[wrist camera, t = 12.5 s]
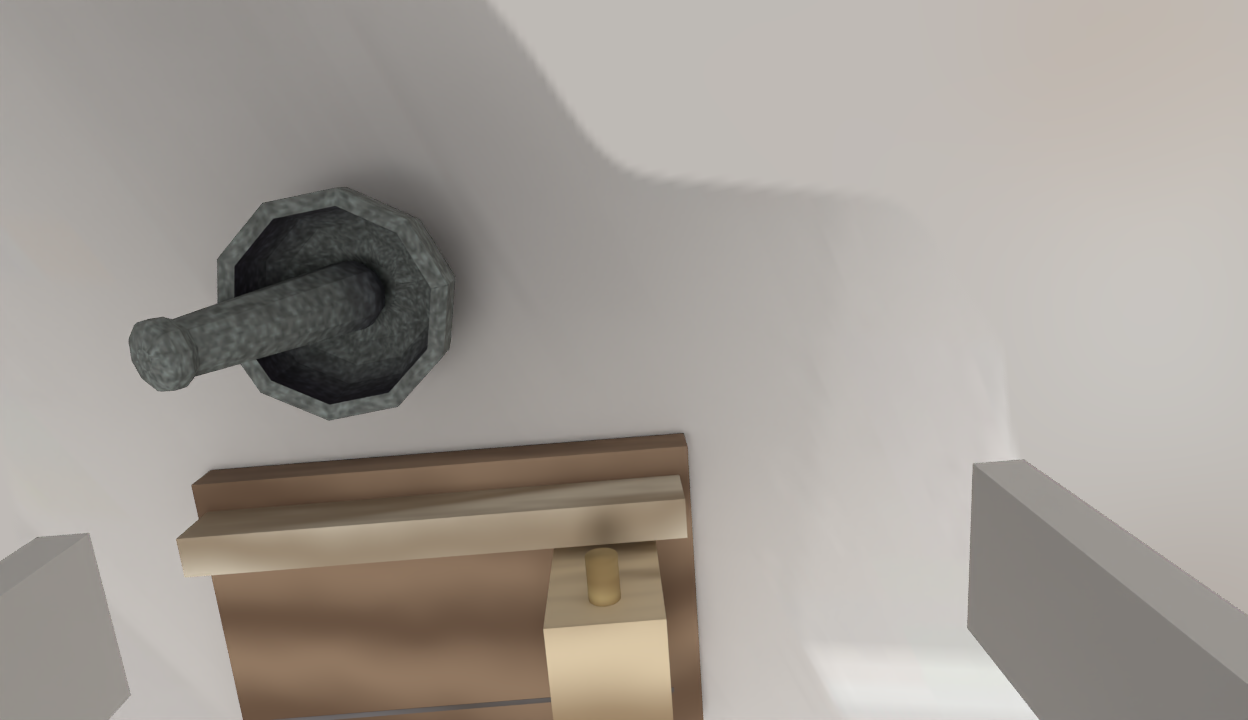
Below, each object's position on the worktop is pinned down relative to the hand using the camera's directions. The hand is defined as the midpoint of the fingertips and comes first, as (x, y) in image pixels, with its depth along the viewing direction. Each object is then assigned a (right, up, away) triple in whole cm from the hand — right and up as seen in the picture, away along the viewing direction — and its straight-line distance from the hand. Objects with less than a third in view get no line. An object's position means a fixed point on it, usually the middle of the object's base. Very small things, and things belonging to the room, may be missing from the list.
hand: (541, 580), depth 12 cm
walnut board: (-7, -10, +32) cm, 34 cm away
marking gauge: (+1, -9, +30) cm, 31 cm away
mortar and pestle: (-12, +7, +28) cm, 31 cm away
